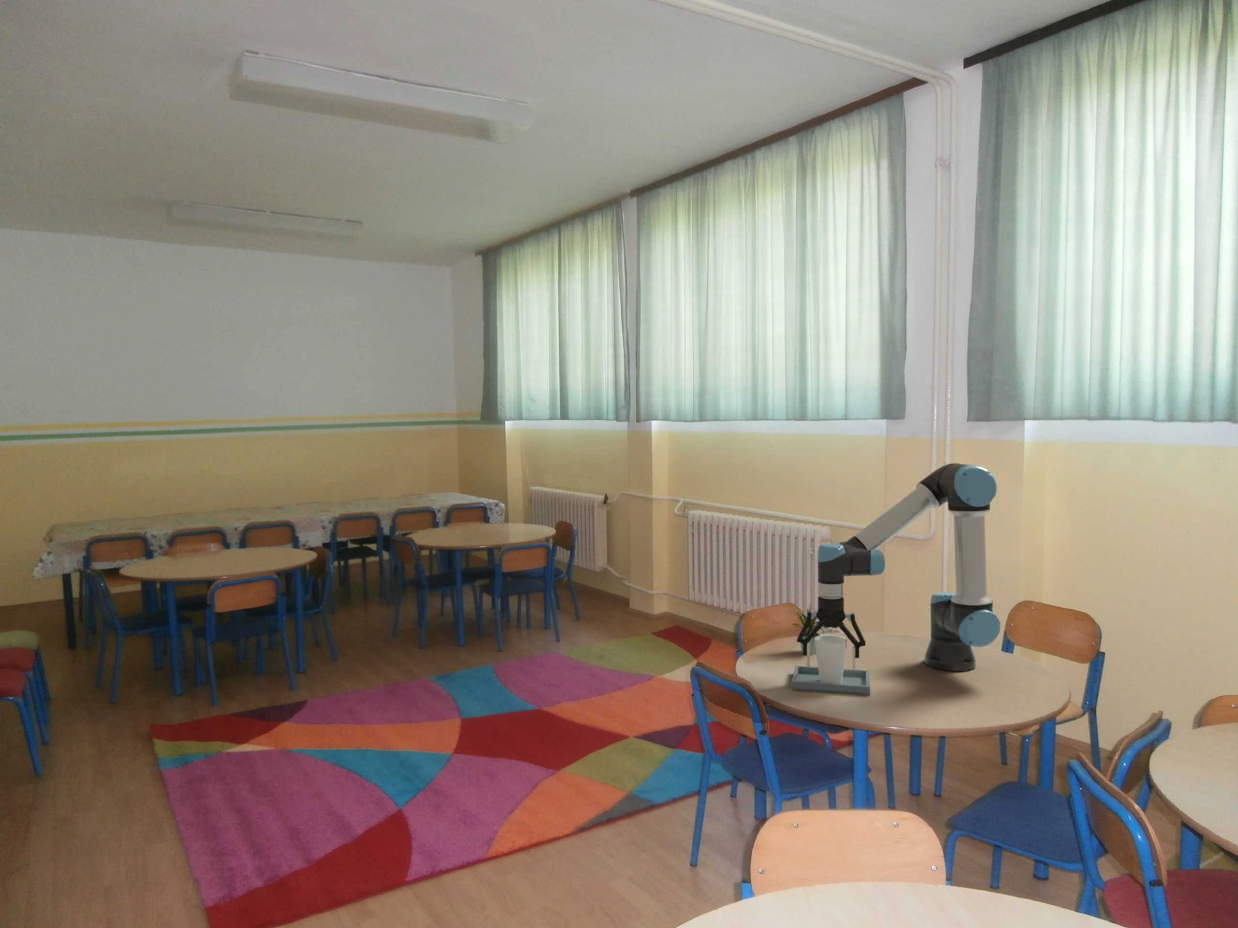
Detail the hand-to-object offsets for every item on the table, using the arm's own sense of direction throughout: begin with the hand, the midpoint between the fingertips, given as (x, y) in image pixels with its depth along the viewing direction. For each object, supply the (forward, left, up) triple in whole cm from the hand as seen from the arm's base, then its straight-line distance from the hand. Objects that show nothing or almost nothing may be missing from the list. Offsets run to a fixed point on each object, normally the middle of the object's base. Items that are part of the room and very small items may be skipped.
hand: (831, 667), depth 249 cm
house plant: (+9, -31, -5) cm, 33 cm away
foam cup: (0, 0, -5) cm, 5 cm away
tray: (0, 0, -5) cm, 5 cm away
